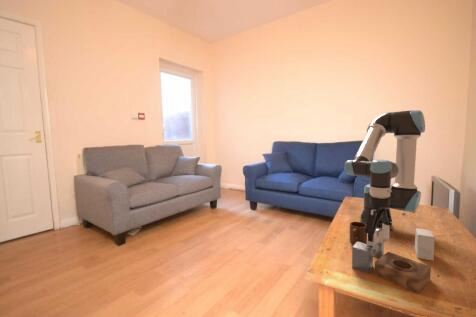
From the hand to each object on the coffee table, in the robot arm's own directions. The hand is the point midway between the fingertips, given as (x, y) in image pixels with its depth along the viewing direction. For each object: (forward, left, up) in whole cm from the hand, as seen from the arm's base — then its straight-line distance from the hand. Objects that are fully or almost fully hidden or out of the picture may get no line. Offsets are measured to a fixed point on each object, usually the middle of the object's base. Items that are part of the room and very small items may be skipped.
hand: (378, 243), depth 101 cm
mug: (-11, +3, -6) cm, 13 cm away
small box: (+12, +15, -6) cm, 20 cm away
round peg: (0, 0, -6) cm, 6 cm away
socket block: (+12, -9, -6) cm, 16 cm away
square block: (0, -14, -6) cm, 15 cm away
